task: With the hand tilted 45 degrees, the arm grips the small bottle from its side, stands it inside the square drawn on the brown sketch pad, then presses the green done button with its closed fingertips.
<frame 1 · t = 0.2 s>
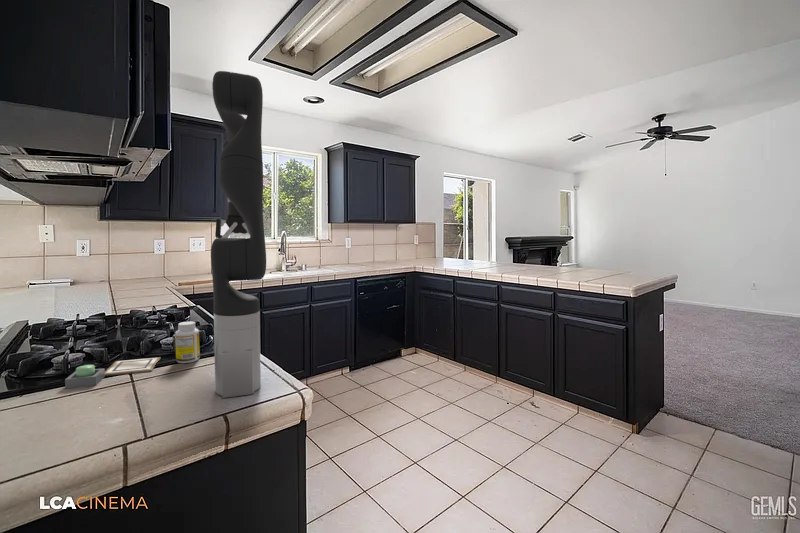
hand: (239, 252, 120), 28 cm above the countertop, tool pointing down, fingers open, 8 cm apart
done button: (85, 372, 83), point 2 cm above the countertop, slide at 0.0 cm
button housing: (86, 382, 83), on the countertop
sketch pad: (133, 366, 93), on the countertop
supplement bottle: (188, 361, 99), on the countertop
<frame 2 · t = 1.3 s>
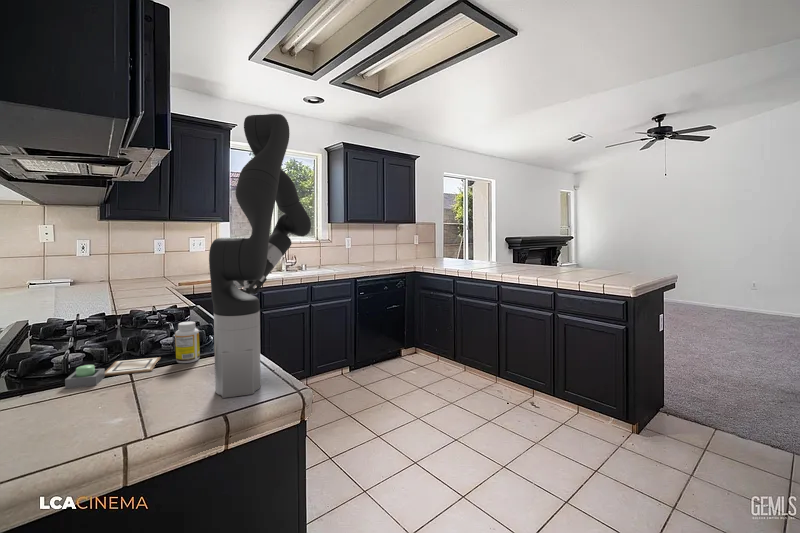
hand: (229, 301, 107), 15 cm above the countertop, tool tilted 45°, fingers open, 8 cm apart
nothing on the countertop moved.
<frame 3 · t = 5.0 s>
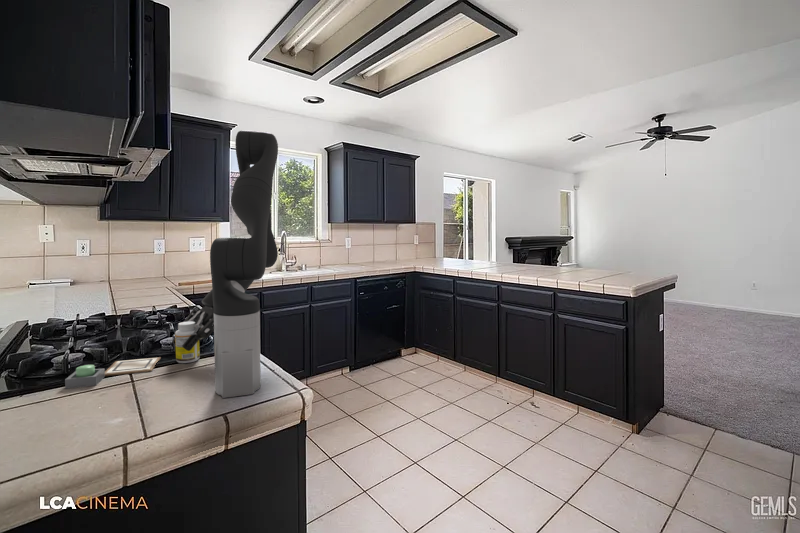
hand: (180, 346, 97), 4 cm above the countertop, tool tilted 45°, fingers closed on supplement bottle, 5 cm apart
supplement bottle: (188, 361, 99), on the countertop, touching gripper
everything else where it was.
when the fingers open (5 cm above the countertop, at t = 9.9 s): supplement bottle stays where it is, resting on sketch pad.
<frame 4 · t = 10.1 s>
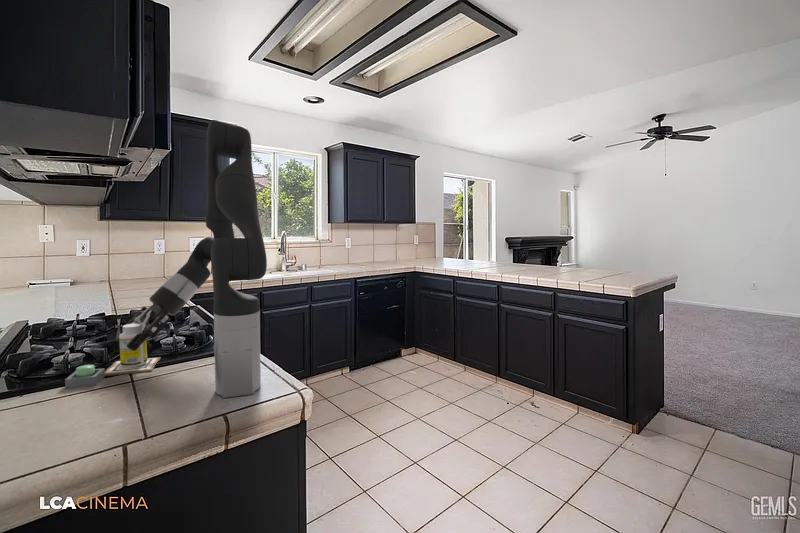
hand: (124, 345, 92), 6 cm above the countertop, tool tilted 45°, fingers open, 7 cm apart
supplement bottle: (134, 365, 94), resting on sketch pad
everything else where it was.
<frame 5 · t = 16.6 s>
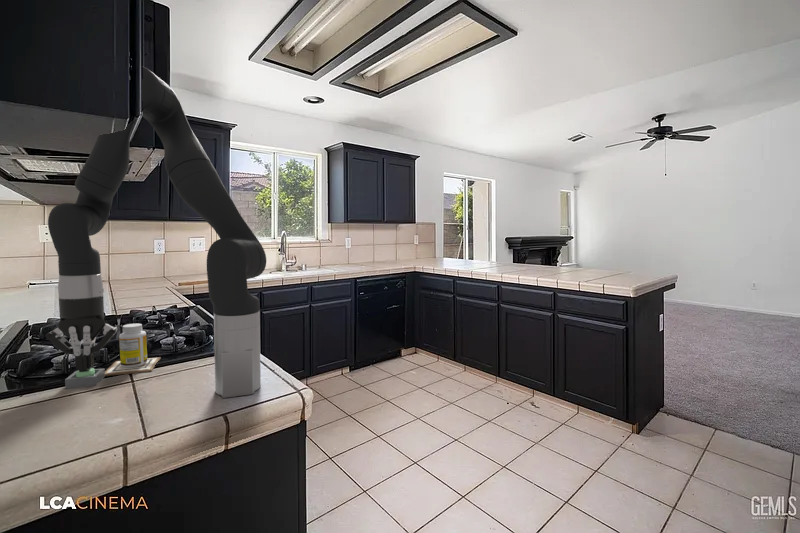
hand: (85, 370, 83), 3 cm above the countertop, tool pointing down, fingers closed
done button: (85, 375, 83), point 2 cm above the countertop, slide at 0.8 cm, touching gripper
everything else where it was.
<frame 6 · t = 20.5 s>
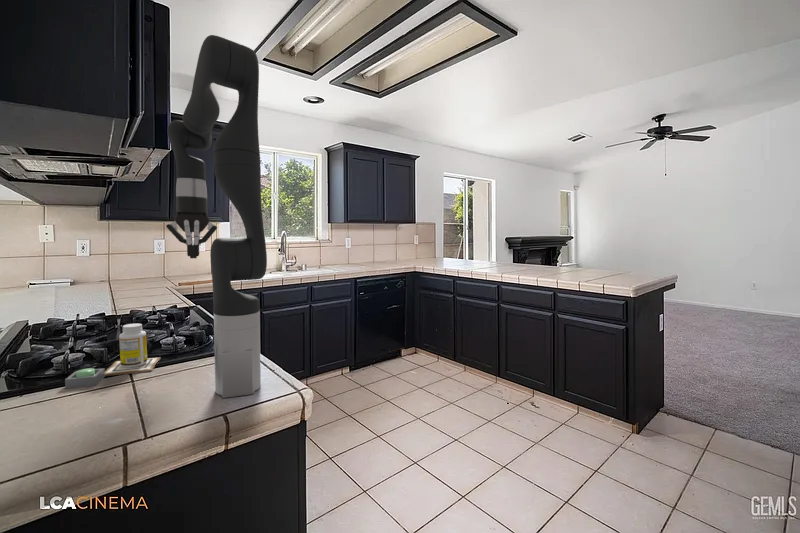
hand: (193, 258, 104), 27 cm above the countertop, tool pointing down, fingers closed
done button: (85, 375, 83), point 2 cm above the countertop, slide at 0.8 cm
everything else where it was.
at the end: supplement bottle inside the target area on the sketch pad (0.2 cm from its centre), point 0.3 cm above the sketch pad's base; supplement bottle tilted 0°; done button slide at 0.8 cm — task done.
